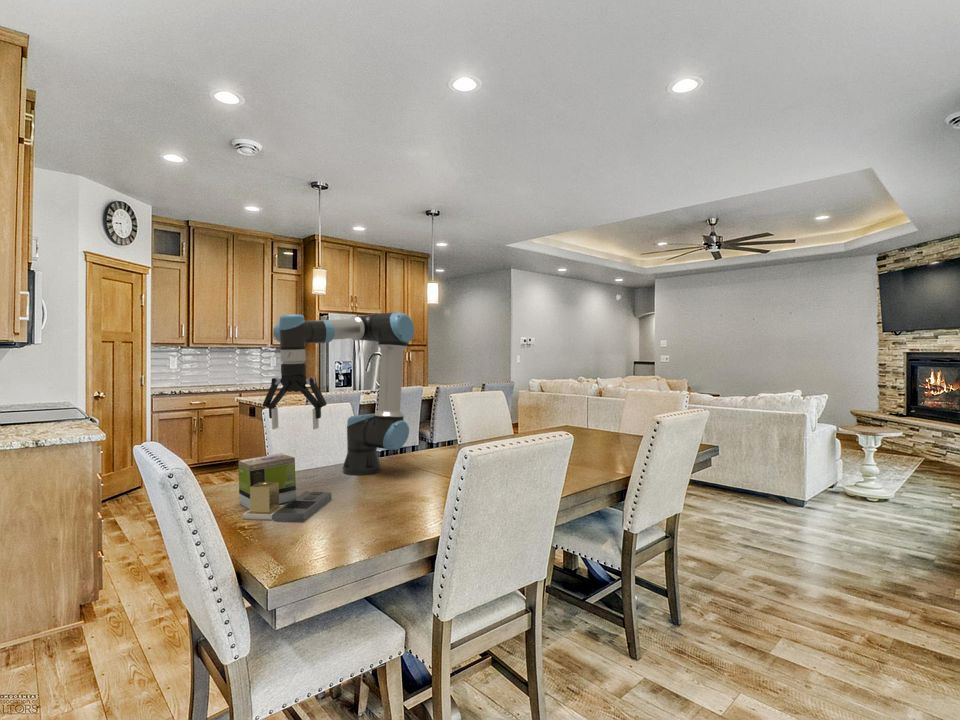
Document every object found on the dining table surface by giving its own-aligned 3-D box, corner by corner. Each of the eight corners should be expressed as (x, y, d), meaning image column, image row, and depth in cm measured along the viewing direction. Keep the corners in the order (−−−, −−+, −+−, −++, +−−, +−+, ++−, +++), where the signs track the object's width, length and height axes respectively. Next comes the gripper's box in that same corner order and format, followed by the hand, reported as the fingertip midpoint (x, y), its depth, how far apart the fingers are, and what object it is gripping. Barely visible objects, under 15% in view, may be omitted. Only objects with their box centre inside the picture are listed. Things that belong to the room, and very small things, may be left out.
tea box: (283, 494, 180) (283, 452, 180) (296, 501, 173) (296, 457, 172) (238, 504, 170) (237, 459, 169) (250, 511, 162) (249, 464, 162)
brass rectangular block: (260, 510, 162) (260, 479, 162) (278, 510, 162) (278, 480, 161) (250, 516, 156) (249, 484, 156) (269, 517, 156) (269, 485, 155)
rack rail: (305, 498, 175) (305, 491, 175) (331, 499, 175) (331, 491, 175) (274, 521, 154) (274, 512, 153) (303, 522, 153) (303, 513, 153)
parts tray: (258, 509, 164) (258, 504, 164) (285, 510, 163) (285, 505, 163) (242, 519, 155) (242, 514, 155) (271, 520, 154) (271, 515, 154)
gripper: (249, 363, 164) (252, 430, 165) (326, 363, 162) (328, 431, 163) (261, 362, 171) (264, 426, 173) (335, 361, 169) (337, 426, 170)
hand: (295, 428), depth 168 cm, fingers open, 13 cm apart
